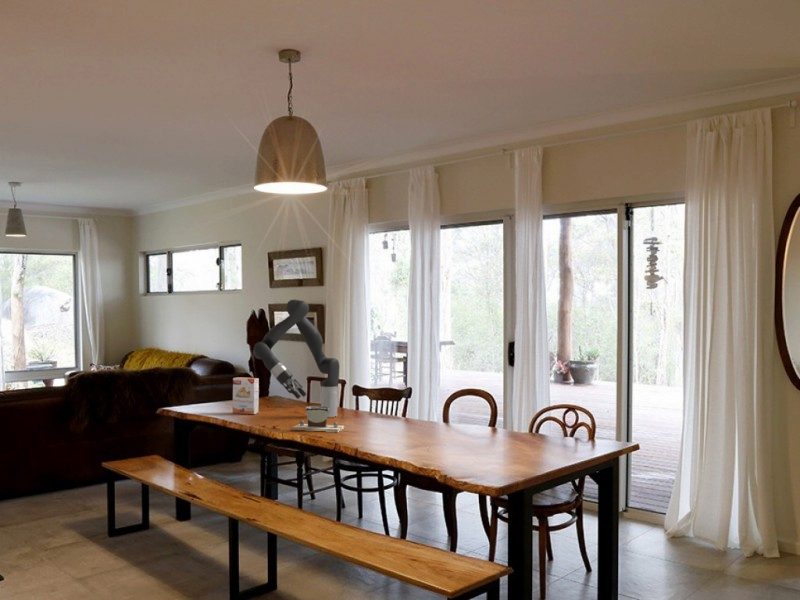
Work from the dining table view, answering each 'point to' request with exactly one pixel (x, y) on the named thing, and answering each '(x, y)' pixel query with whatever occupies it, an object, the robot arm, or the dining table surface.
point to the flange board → (328, 427)
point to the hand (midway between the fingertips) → (302, 396)
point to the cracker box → (245, 395)
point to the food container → (317, 416)
